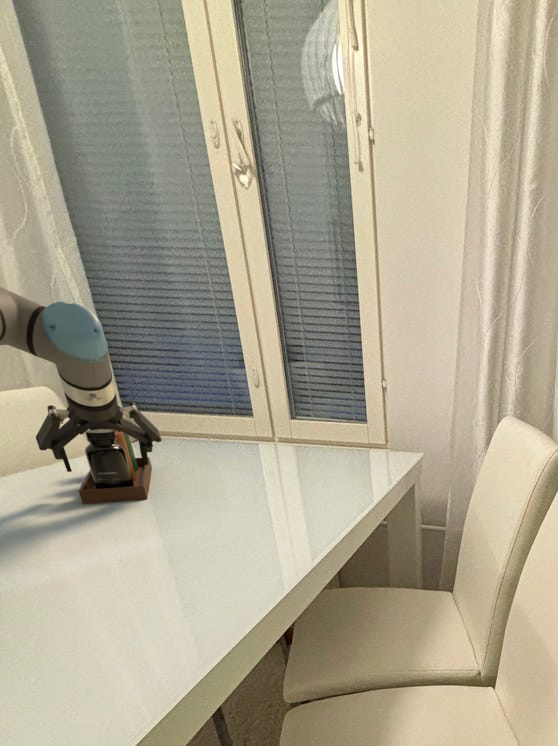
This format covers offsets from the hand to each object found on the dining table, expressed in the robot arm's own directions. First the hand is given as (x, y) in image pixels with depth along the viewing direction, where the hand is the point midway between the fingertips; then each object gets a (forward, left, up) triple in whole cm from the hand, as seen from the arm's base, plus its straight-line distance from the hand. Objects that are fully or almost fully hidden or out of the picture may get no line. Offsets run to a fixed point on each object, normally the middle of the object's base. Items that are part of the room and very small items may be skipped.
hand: (107, 462), depth 113 cm
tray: (0, +7, -6) cm, 9 cm away
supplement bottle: (+1, -2, -6) cm, 6 cm away
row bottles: (0, +13, -5) cm, 14 cm away
